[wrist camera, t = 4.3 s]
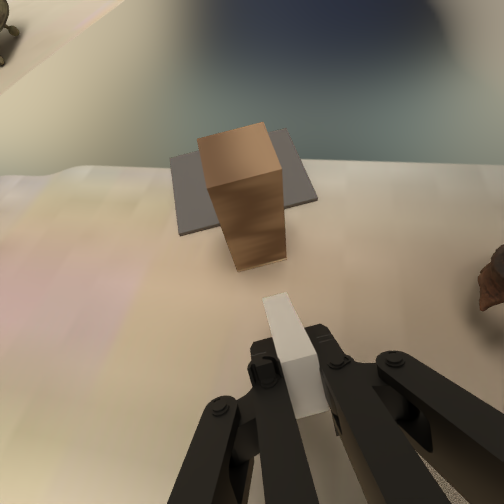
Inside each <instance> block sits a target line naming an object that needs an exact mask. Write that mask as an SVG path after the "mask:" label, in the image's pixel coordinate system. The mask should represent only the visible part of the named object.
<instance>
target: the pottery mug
mask: <svg viewBox="0 0 504 504" xmlns="http://www.w3.org/2000/svg"><path fill="white" fill-rule="evenodd" d="M478 283H479V286H480V300H479V305H480V310H481V311H485V310H487V309H488V308H489V307H491V306H493V305H497V304H500V303H504V244H503V245H501V246H500V247H499V248H498V249H497V250H496V252H495V253H494V254H493V256H492V257H491V262H490V263H489V264H487V265H486V266H485V267H484V268H483V269H482V270H481V271H480V275H479V276H478Z"/></svg>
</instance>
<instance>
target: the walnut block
mask: <svg viewBox="0 0 504 504" xmlns="http://www.w3.org/2000/svg"><path fill="white" fill-rule="evenodd" d="M197 142H198V147H199V152H200V157H201V162H202V167H203V172H204V177H205V182H206V187H207V191H208V193H209V196H210V199H211V201H212V204H213V207H214V209H215V212H216V215H217V218H218V220H219V223H220V226H221V228H222V231H223V234H224V236H225V239H226V242H227V244H228V247H229V250H230V252H231V255H232V258H233V261H234V263H235V266H236V269H237V271H238V272H241V271H245V270H248V269H252V268H256V267H260V266H264V265H267V264H271V263H275V262H279V261H283V260H287V257H286V238H285V218H284V198H283V178H282V168H281V165H280V163H279V160H278V157H277V155H276V152H275V150H274V147H273V145H272V142H271V140H270V137H269V135H268V132H267V130H266V127H265V125H264V122H260V123H257V124H253V125H249V126H245V127H241V128H237V129H233V130H229V131H226V132H222V133H218V134H214V135H210V136H206V137H202V138H198V139H197Z"/></svg>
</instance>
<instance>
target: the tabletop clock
mask: <svg viewBox="0 0 504 504" xmlns="http://www.w3.org/2000/svg"><path fill="white" fill-rule="evenodd" d="M8 16H9V5H8V3H7V1H6V0H0V32H1V30H2V29H3V28H6V29H8V30H9V32H10V34H11V35H13V36H18V35H19V31H18V29H17V28H16V27H15V26H10V27H9V26H7V25H6V21H7V19H8ZM3 64H4V59H3V58H2V57H1V56H0V65H3Z"/></svg>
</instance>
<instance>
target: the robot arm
mask: <svg viewBox="0 0 504 504" xmlns="http://www.w3.org/2000/svg"><path fill="white" fill-rule="evenodd" d="M262 300H263V304H264V308H265V311H266V315H267V319H268V323H269V327H270V330H271V334H272V337H271V338H267V339H263V340H259V341H256V342H253V344H252V346H251V348H250V352H251V360H252V361H251V362H250V363H249V364H248V368H247V369H248V373H249V376H250V380H251V383H252V389H251V390H250V391H249V392H248V393H247V394H246V395H245V396H243V397H242V398H240V399H238V400H235V398H233V397H231V396H220V397H217V398H215V399H214V400H212V401H211V402H210V403H209V404H207V406H206V407H205V409H204V411H203V414H202V416H201V419H200V421H199V424H198V426H197V429H196V431H195V434H194V436H193V439H192V441H191V444H190V447H189V449H188V452H187V454H186V457H185V459H184V462H183V464H182V467H181V469H180V472H179V474H178V477H177V479H176V482H175V484H174V487H173V490H172V492H171V495H170V497H169V500H168V502H167V504H247V503H248V496H249V490H250V484H251V478H252V472H253V465H254V456H256V455H257V454H259V453H260V459H261V468H262V477H263V486H264V495H265V504H319V501H318V497H317V494H316V490H315V486H314V483H313V479H312V476H311V472H310V468H309V465H308V461H307V458H306V454H305V450H304V447H303V443H302V439H301V436H300V432H299V429H298V425H297V421H296V419H300V418H303V417H307V416H311V415H315V414H318V413H322V412H326V411H329V407H330V409H331V413H332V417H333V422H334V426H335V431H336V435H337V436H339V435H340V438H341V440H342V443H343V445H344V447H345V450H346V452H347V454H348V457H349V459H350V461H351V464H352V466H353V469H354V471H355V473H356V476H357V478H358V480H359V483H360V485H361V488H362V490H363V492H364V495H365V497H366V499H367V502H368V504H451V503H450V501H449V500H448V498H447V497H446V495H445V494H444V492H443V491H442V489H441V488H440V486H439V485H438V483H437V482H436V480H435V479H434V478H433V476H432V475H431V473H430V472H429V470H428V469H427V467H426V466H425V464H424V463H423V461H422V460H421V458H420V457H419V455H418V454H417V452H418V453H419V454H420V455H421V456H422V457H423V458H424V459H425V460H426V461H427V462H428V463H429V464H430V465H431V466H432V467H433V468H434V469H435V470H436V471H437V472H438V473H439V474H440V475H441V476H442V477H443V478H444V479H445V480H446V481H447V482H448V483H449V484H450V485H451V486H453V487H454V488H455V489H456V490H457V491H458V492H459V493H460V494H461V495H462V496H463V497H464V498H465V499H466V500H467V501H468V502H469V503H470V504H504V414H503V413H501V412H500V411H498V410H497V409H495V408H493V407H492V406H490V405H489V404H487V403H485V402H484V401H482V400H481V399H479V398H477V397H476V396H474V395H473V394H471V393H469V392H468V391H466V390H465V389H463V388H461V387H460V386H458V385H457V384H455V383H453V382H452V381H450V380H449V379H447V378H445V377H444V376H442V375H441V374H439V373H437V372H436V371H434V370H433V369H431V368H429V367H428V366H426V365H425V364H423V363H421V362H420V361H418V360H417V359H415V358H413V357H412V356H410V355H409V354H406V353H404V352H401V351H386V352H383V353H381V354H380V355H378V356H377V358H376V363H359V362H355V361H354V359H353V358H351V357H350V356H348V355H346V354H344V352H343V351H342V349H341V348H340V346H339V344H338V343H337V341H336V340H335V339H334V337H333V335H332V334H331V332H330V331H329V329H328V328H327V327H326V326H324V325H322V324H317V325H313V326H310V327H306V328H304V327H303V325H302V323H301V321H300V319H299V317H298V315H297V313H296V311H295V309H294V307H293V305H292V303H291V301H290V299H289V296H288V294H287V292H284V293H280V294H276V295H273V296H269V297H265V298H262ZM328 404H329V406H328ZM415 450H416V451H417V452H416V451H415Z"/></svg>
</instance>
